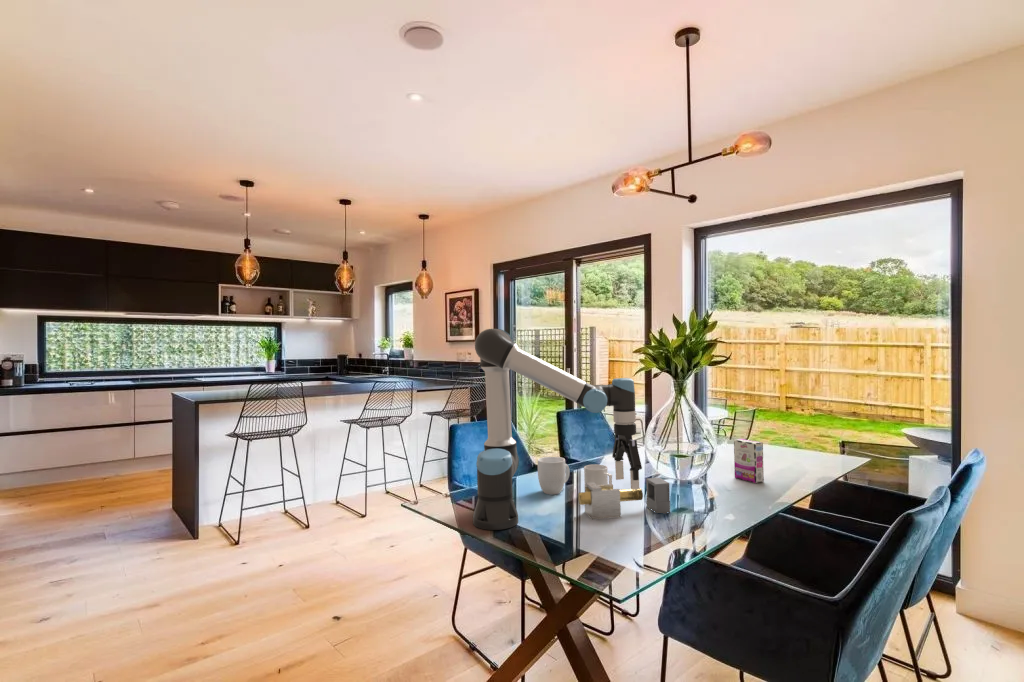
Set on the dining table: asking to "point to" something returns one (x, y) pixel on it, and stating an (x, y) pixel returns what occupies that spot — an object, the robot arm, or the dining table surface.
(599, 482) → the mug
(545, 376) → the robot arm
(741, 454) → the candy bar box
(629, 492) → the tube
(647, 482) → the socket
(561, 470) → the mug
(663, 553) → the dining table surface
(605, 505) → the grey tube holder
